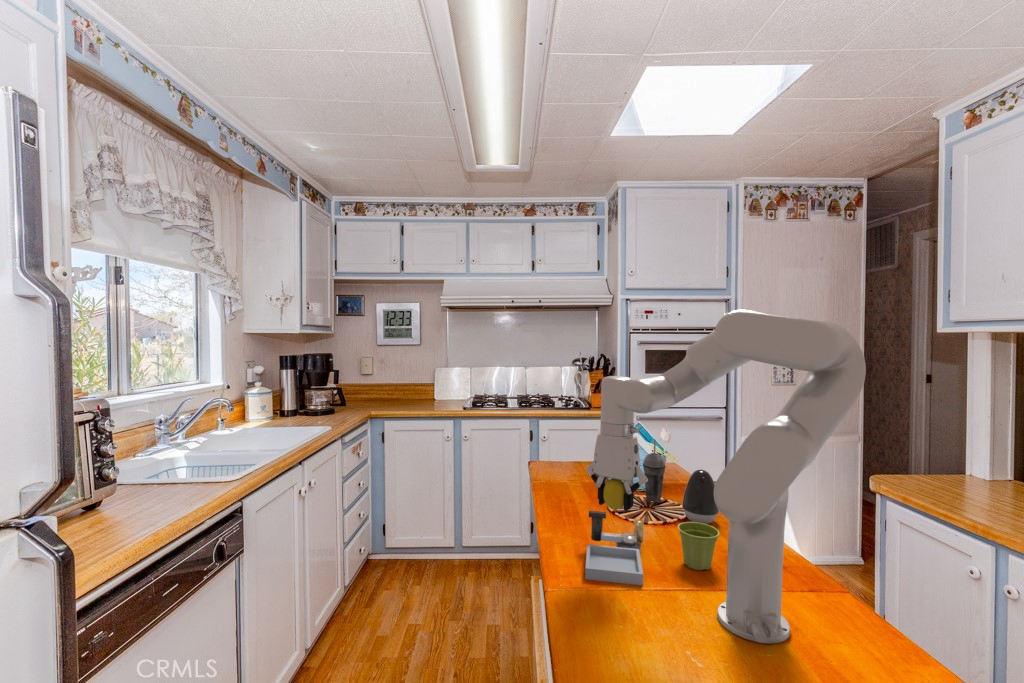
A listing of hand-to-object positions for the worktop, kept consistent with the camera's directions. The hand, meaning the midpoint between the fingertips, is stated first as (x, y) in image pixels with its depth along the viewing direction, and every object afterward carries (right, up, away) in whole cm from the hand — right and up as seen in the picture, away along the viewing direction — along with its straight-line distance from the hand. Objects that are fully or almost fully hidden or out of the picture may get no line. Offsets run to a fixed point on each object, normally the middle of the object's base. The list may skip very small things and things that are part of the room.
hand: (615, 505), depth 116 cm
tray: (0, -15, 0) cm, 15 cm away
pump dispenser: (+32, -15, +31) cm, 47 cm away
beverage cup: (+23, -14, +48) cm, 55 cm away
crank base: (+7, -15, +13) cm, 21 cm away
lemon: (0, -1, 0) cm, 1 cm away
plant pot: (+21, -16, +3) cm, 26 cm away
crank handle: (+2, -13, +11) cm, 17 cm away
